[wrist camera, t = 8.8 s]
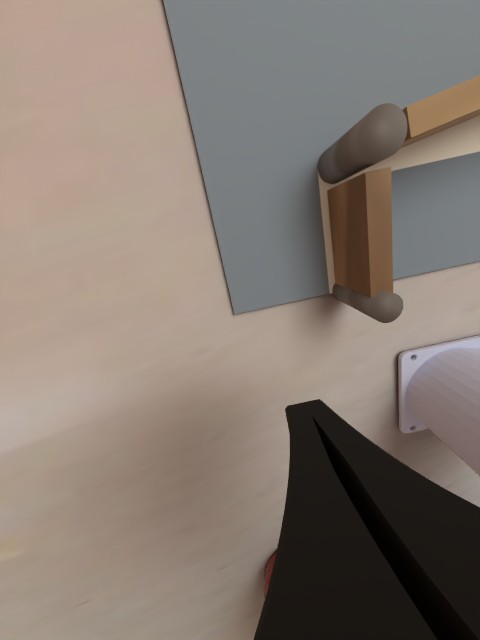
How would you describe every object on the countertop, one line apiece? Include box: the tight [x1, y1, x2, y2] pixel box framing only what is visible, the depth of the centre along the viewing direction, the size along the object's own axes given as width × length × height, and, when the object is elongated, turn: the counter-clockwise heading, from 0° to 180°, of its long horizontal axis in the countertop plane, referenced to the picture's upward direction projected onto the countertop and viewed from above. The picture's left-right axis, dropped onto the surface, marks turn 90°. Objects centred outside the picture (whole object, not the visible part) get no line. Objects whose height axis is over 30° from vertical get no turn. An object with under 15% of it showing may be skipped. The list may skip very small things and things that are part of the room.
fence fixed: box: [317, 103, 407, 323], centre depth 14 cm, size 2×10×5 cm, turn 12°
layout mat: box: [163, 0, 480, 314], centre depth 15 cm, size 22×20×1 cm
